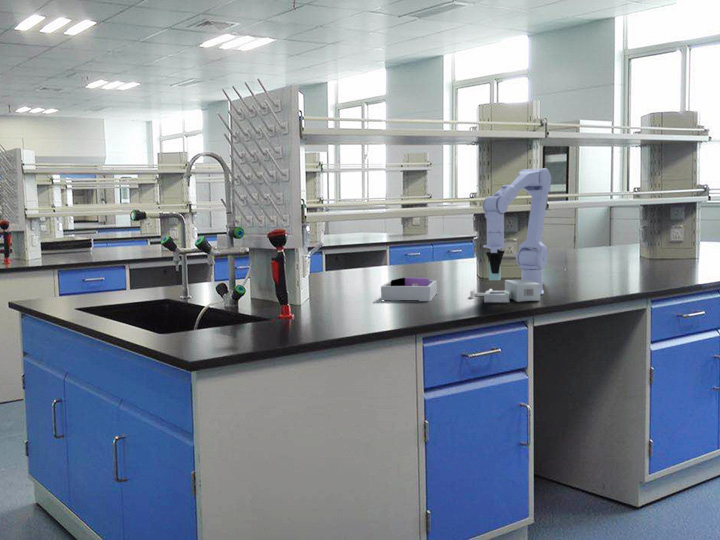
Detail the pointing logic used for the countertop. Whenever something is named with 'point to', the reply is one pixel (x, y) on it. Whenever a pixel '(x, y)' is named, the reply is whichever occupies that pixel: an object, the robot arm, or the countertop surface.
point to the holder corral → (409, 292)
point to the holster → (472, 293)
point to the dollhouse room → (410, 282)
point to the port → (497, 297)
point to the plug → (494, 276)
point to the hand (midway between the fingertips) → (495, 272)
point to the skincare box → (523, 290)
